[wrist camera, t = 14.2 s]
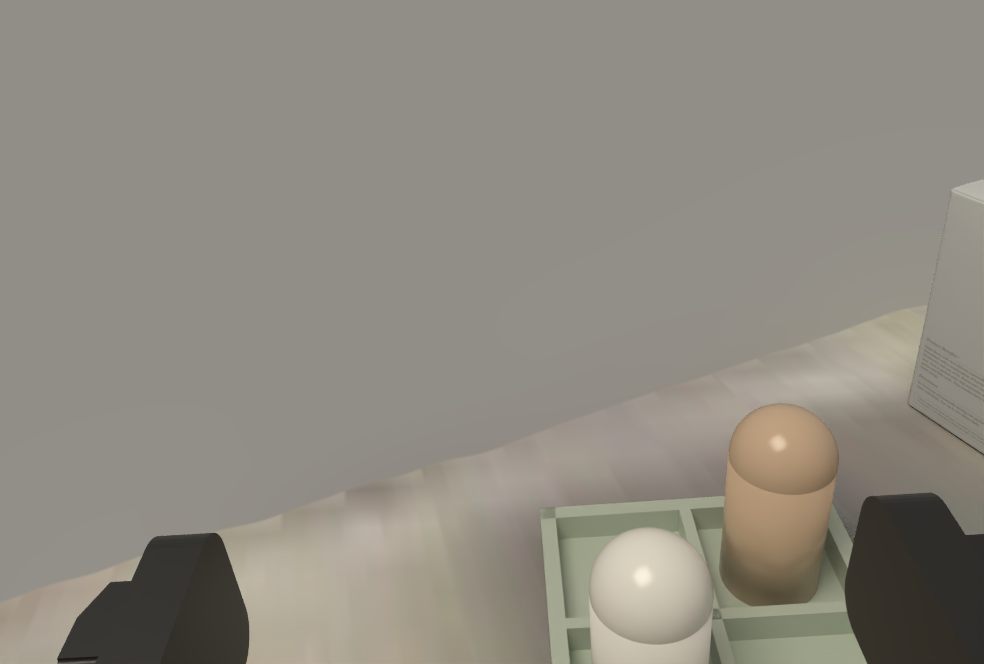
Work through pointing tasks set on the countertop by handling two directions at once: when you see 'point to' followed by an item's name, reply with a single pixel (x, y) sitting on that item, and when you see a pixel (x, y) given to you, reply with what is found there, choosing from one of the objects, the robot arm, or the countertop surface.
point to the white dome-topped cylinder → (650, 600)
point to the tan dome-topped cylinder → (777, 505)
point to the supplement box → (956, 324)
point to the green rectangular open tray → (735, 625)
